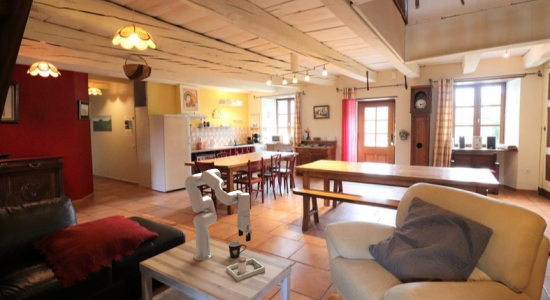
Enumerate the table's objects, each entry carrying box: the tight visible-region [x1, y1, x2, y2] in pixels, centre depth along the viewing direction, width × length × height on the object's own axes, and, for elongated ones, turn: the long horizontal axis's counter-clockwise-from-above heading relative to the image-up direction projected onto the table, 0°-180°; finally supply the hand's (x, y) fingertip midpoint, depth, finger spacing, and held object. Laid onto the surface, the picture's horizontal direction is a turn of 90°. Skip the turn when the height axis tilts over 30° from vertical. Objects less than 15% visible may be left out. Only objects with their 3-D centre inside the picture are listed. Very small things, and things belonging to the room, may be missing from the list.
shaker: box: [237, 256, 247, 275], centre depth 180 cm, size 5×5×9 cm
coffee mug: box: [228, 240, 247, 259], centre depth 200 cm, size 12×9×10 cm
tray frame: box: [225, 257, 266, 282], centre depth 182 cm, size 15×20×3 cm
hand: (244, 238), depth 180 cm, fingers open, 9 cm apart
